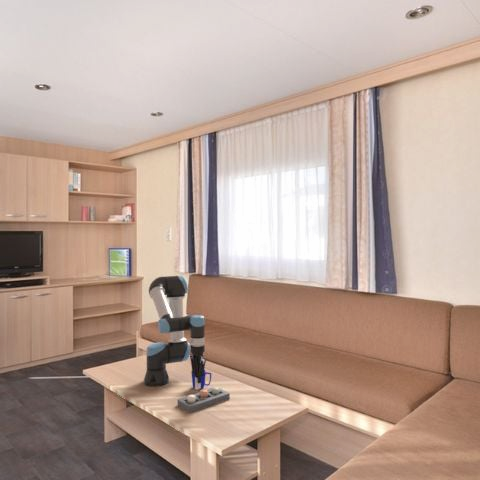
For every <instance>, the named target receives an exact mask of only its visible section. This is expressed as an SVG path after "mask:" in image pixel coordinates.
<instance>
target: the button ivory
mask: <svg viewBox="0 0 480 480" xmlns="http://www.w3.org/2000/svg"><path fill="white" fill-rule="evenodd" d="M186 397H187V403H189V404H191V403H194V402H196V396H195V395H193V394H188V395H187V396H186Z"/></svg>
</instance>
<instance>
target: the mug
mask: <svg viewBox="0 0 480 480" xmlns="http://www.w3.org/2000/svg"><path fill="white" fill-rule="evenodd" d="M190 373H191V382H192V384H191V385H192V387H193V389H195V376H194V374H193V373H192V370H191V372H190ZM206 375H209V381H208V383H206ZM211 381H212V372H209V371H206V369H204V375H203V376H202V377H201V388H200V389H199V390H202V389H204V388H205V386H210V384H211Z"/></svg>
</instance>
